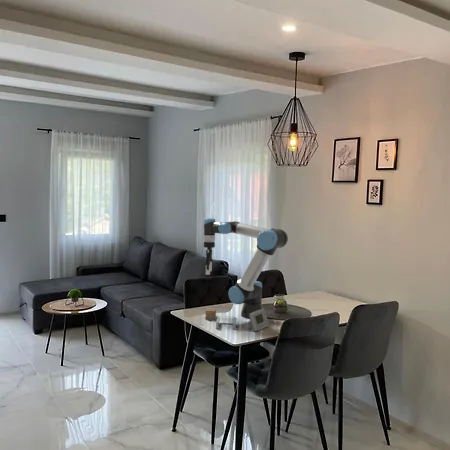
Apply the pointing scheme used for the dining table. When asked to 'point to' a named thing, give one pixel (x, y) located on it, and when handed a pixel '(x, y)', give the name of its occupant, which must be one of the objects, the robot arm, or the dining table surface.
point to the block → (210, 313)
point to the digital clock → (258, 320)
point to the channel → (226, 323)
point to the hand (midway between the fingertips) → (208, 272)
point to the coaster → (211, 318)
